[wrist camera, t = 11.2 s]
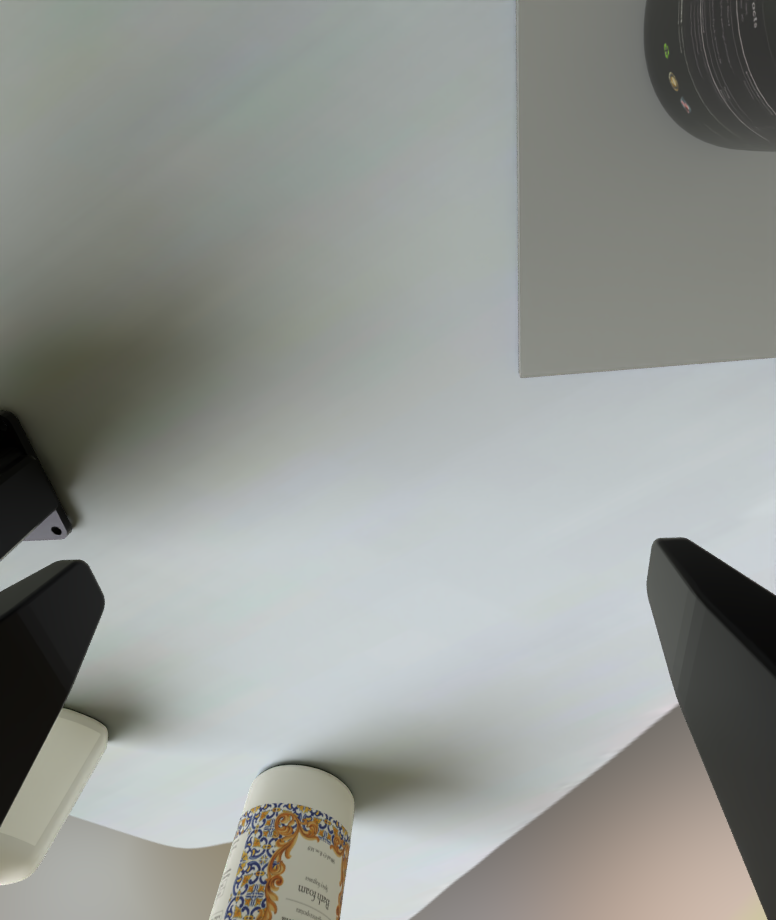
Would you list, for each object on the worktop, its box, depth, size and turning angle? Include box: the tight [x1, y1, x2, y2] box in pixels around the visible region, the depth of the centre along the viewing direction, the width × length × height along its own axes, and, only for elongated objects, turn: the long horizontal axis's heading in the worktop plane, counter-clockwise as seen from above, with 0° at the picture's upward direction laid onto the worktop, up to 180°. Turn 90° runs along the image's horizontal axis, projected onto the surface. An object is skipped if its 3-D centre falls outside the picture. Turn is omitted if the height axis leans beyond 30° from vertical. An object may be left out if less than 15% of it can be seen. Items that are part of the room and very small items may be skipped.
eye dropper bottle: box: [0, 708, 108, 885], centre depth 29 cm, size 4×6×12 cm
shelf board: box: [516, 0, 776, 378], centre depth 15 cm, size 12×14×3 cm
